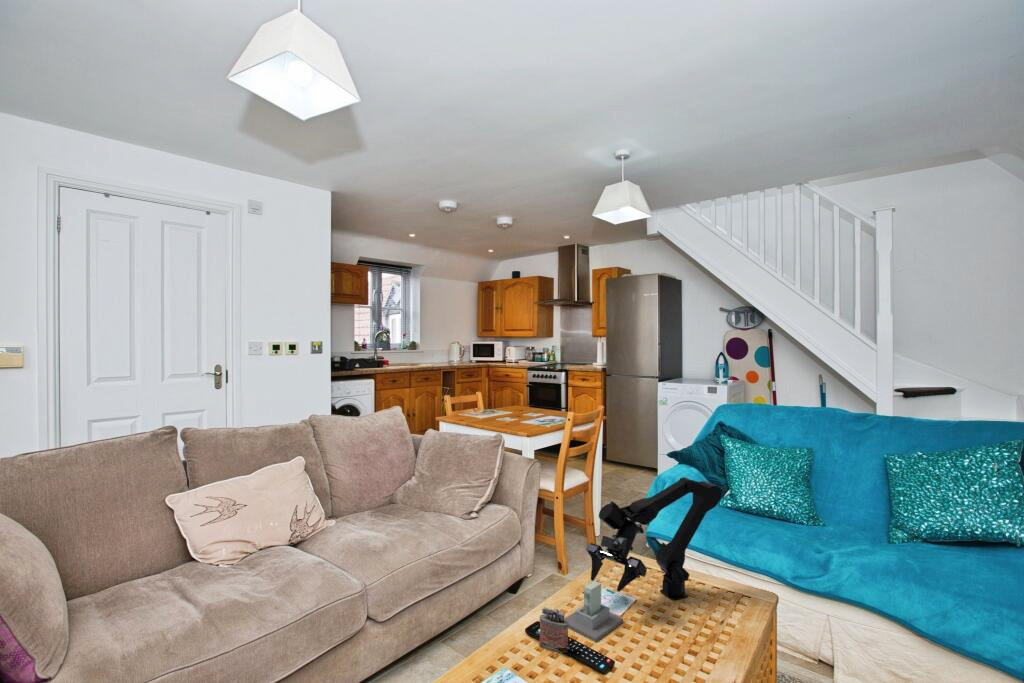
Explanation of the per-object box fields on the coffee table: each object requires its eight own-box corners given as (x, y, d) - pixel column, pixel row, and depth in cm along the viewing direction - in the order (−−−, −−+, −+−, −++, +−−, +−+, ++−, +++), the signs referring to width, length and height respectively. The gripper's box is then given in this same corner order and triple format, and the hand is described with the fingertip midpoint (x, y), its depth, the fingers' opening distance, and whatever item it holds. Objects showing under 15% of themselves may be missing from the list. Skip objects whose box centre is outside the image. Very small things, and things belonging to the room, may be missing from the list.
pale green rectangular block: (600, 618, 144) (601, 583, 144) (589, 625, 140) (589, 590, 140) (593, 614, 145) (594, 580, 145) (582, 622, 141) (582, 587, 141)
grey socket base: (623, 622, 144) (623, 608, 144) (595, 642, 134) (595, 627, 134) (589, 606, 152) (589, 593, 152) (560, 624, 142) (561, 610, 142)
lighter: (570, 648, 131) (570, 610, 131) (566, 655, 128) (566, 616, 128) (541, 640, 134) (542, 603, 134) (537, 647, 131) (537, 609, 131)
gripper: (589, 517, 158) (568, 562, 149) (642, 533, 145) (622, 583, 137) (603, 535, 163) (583, 579, 155) (654, 552, 150) (636, 601, 142)
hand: (604, 585), depth 147 cm, fingers open, 9 cm apart
